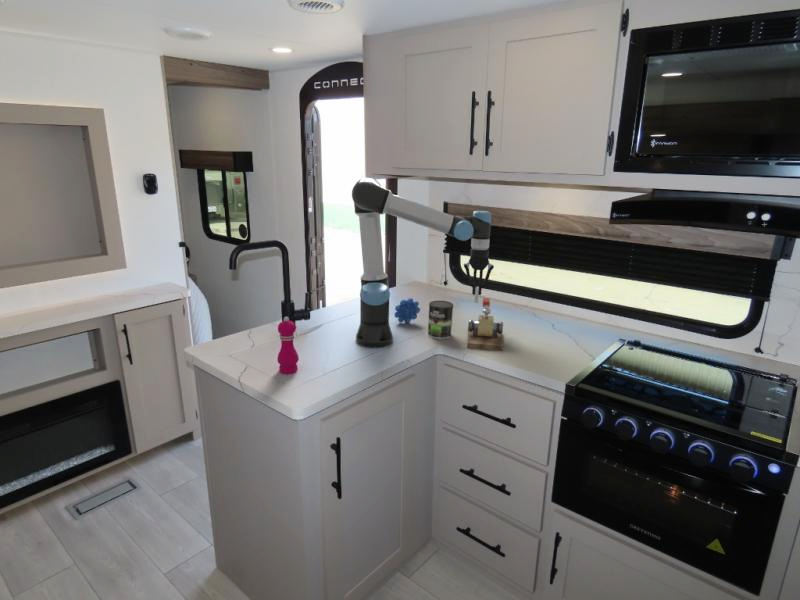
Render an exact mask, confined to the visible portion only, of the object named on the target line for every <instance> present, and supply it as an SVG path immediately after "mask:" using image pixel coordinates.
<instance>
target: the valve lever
mask: <svg viewBox="0 0 800 600" xmlns="http://www.w3.org/2000/svg"><path fill="white" fill-rule="evenodd" d="M490 303H491V301H490V298H488V297H486V298H485V297H483V298H482V307H483V309H482V314H483V315H484V314H488V315H489V314H491V311H492V310H491V308H490V305H491V304H490Z"/></svg>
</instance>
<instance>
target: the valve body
mask: <svg viewBox="0 0 800 600" xmlns="http://www.w3.org/2000/svg"><path fill="white" fill-rule="evenodd" d="M494 321H495V320H494V315H489V314H484V313H483V314H479V315H478V320H473V319H468V326H467V332H468V331H469V332H472V331H473V337H477V336H491V337H492V338H497V333H498V334H501V335H503V331H504V330H503V329H504V322H503V321H498V322H494Z"/></svg>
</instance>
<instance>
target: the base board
mask: <svg viewBox="0 0 800 600" xmlns="http://www.w3.org/2000/svg"><path fill="white" fill-rule="evenodd" d="M466 339H467V340H466V341H467V342H466V344H467V345H466V348H467V349H479V350H490V351H491V350H492V351H503V347H504V344H503V339H502V334H498V333H497V338H492V337H491V336H477V337H473V331H472V332H469V331H468V330H467V338H466Z"/></svg>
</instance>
